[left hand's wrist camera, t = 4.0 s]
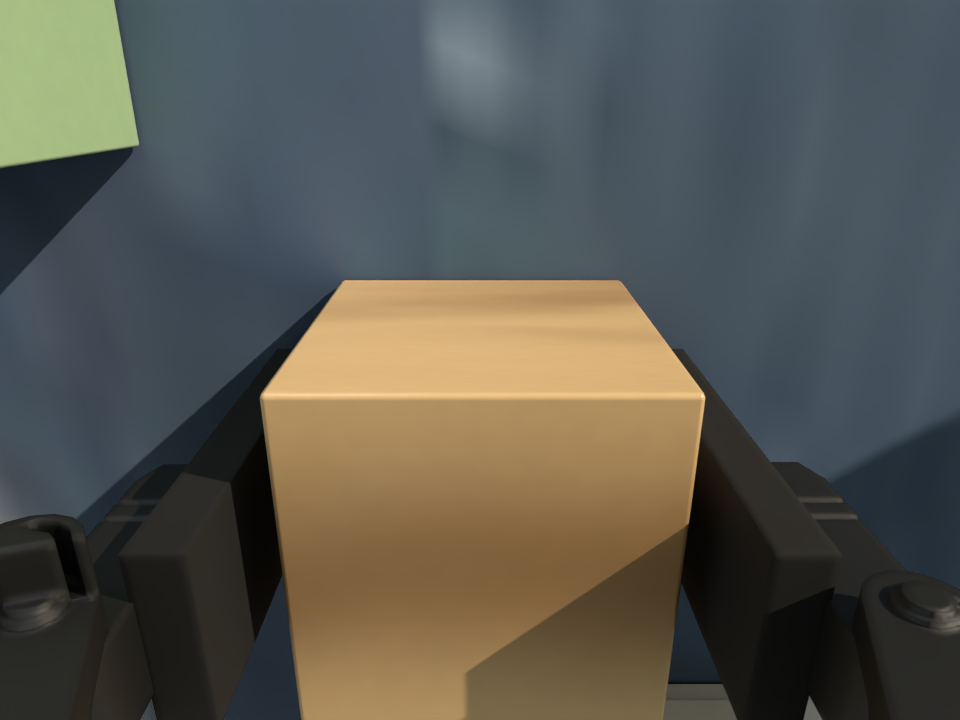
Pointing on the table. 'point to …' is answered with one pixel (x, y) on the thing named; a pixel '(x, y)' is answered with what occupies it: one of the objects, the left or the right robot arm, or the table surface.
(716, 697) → the tray
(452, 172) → the table surface
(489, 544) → the beech block
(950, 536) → the table surface
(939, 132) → the table surface
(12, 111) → the green block
